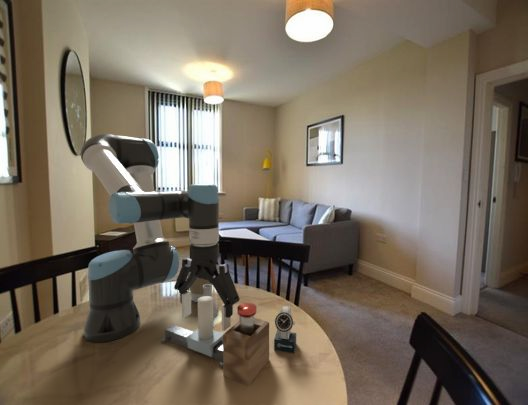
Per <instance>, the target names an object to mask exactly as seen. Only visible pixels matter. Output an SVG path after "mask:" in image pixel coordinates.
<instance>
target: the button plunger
mask: <svg viewBox="0 0 528 405" xmlns="http://www.w3.org/2000/svg"><path fill="white" fill-rule="evenodd" d="M256 314H257V305H256V304H254V303H251V302H244V303H241V304H239V305H237V315H238V316H239V321H240V333H242V334H245V335H249V336H251V335H252V334H253V333H254V318H255V315H256Z"/></svg>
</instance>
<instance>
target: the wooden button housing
mask: <svg viewBox="0 0 528 405" xmlns="http://www.w3.org/2000/svg"><path fill="white" fill-rule="evenodd" d="M269 360H270V322H269V321H267V320H263V319H261V318H260V319H259V318H256V317H254V333H253V334H252V335H251V336H249V335H245V334H242V333H240V320H238V321H237V322H236V323H235V324H233V326H230V327H229V328H228V329H227V331H224V334H223V367H222V371H223V372H222V373H223V376H224V377H227V378H229V379H232V380H233V381H236V382H238V383H240V384H243V385H245V386H248V387H250V385H251V384H252V383H253V381H254V380H255V378H256V377H257V376H258V375H259V374H260V372H261V371H262V370H263V368H264V366H266V364H267V363H268V362H269Z"/></svg>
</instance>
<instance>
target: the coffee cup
mask: <svg viewBox="0 0 528 405" xmlns="http://www.w3.org/2000/svg"><path fill="white" fill-rule="evenodd" d="M192 270H193V268H192V266H191V268H190V271H189V274H190V273H191V272H192ZM189 274H188V276H187V278H188V277H189ZM205 284H210V285H212V286H213V284H212V283H210V282H209V281H208V280H204V279H203V278H201V279H200V278H198V277H197V279H196V280H195V281H194V283H193V284H192V285H191V287H190V288H189V291H191V301H192V300H193V301H194V303H196V302H198V298H200V297H203V293H204V289H203V285H205ZM211 292H212V293H213V287H212V288H211ZM193 301H192V302H193Z"/></svg>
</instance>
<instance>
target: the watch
mask: <svg viewBox="0 0 528 405" xmlns="http://www.w3.org/2000/svg"><path fill="white" fill-rule="evenodd" d="M274 325H275V328H276V333H275V336H274V338H273V350H274V351H277V352H284V353H290V354H295V353H296V347H297V332H291V331H292V329H293V327H294V326H295V325H296V322H295V321H294V318H293V315H292V309H291V307H290V306H284V305H283V306H281V309H280V310H279V311H278V313H277V315H276V317H275V318H274Z"/></svg>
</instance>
